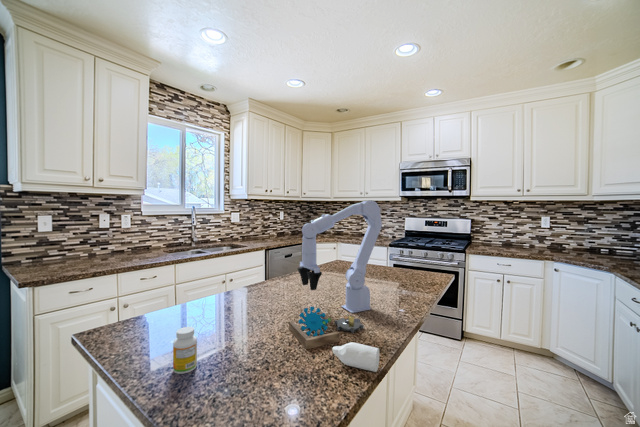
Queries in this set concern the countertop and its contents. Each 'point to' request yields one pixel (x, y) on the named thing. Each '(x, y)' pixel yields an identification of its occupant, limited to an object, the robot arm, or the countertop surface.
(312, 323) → the gear
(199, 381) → the countertop surface
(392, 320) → the countertop surface
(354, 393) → the countertop surface
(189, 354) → the supplement bottle
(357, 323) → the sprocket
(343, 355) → the white plastic bottle
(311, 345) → the tray
